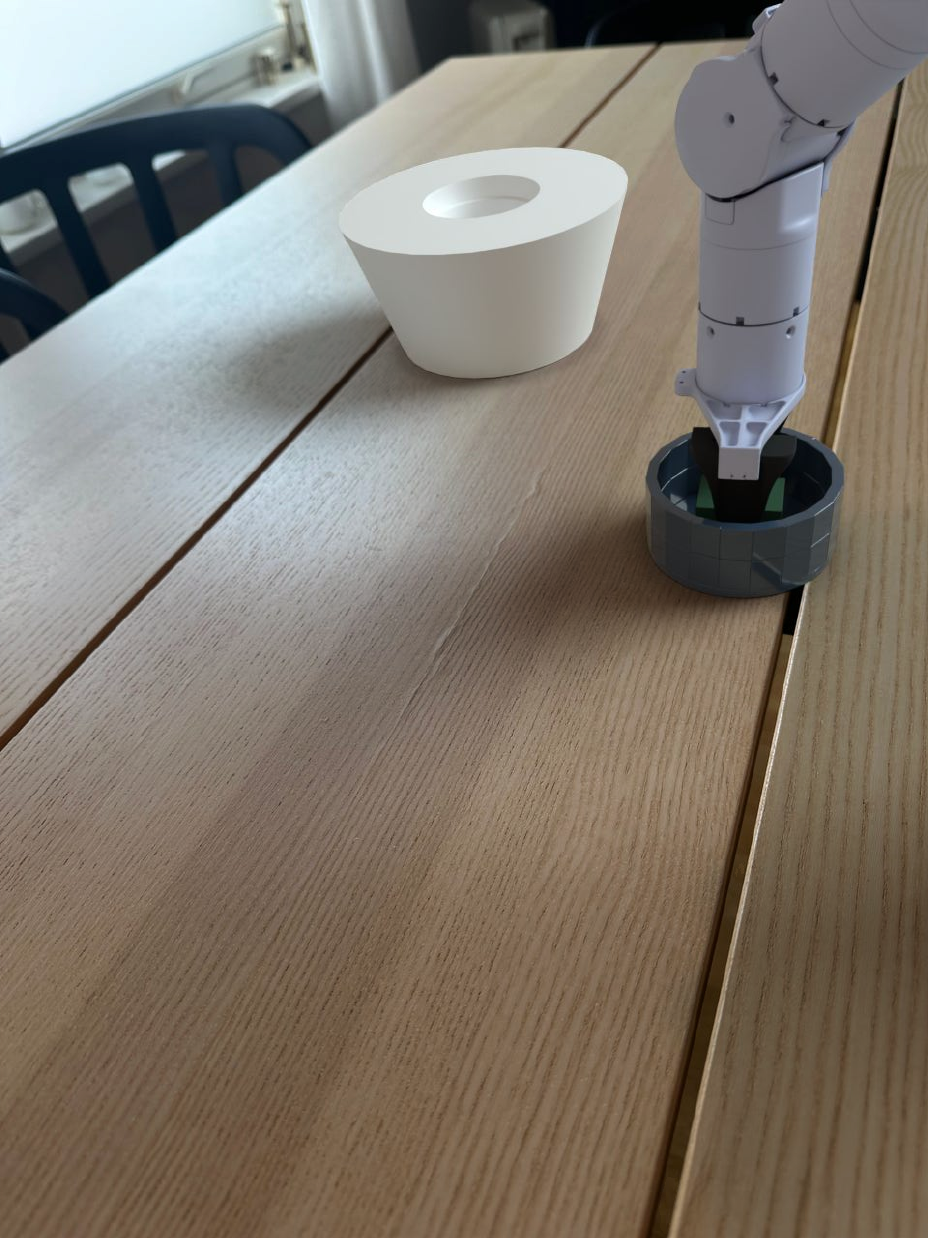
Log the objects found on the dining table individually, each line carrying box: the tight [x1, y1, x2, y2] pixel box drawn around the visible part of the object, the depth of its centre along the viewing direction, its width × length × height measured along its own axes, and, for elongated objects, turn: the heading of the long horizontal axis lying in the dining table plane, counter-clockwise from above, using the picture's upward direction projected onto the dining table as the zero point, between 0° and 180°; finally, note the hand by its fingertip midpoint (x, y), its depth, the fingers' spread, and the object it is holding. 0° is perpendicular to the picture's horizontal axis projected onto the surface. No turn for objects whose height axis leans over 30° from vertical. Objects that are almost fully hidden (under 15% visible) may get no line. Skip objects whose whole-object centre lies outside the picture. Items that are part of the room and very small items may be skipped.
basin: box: [644, 426, 845, 599], centre depth 60 cm, size 11×11×5 cm
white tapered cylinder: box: [337, 146, 629, 379], centre depth 85 cm, size 24×24×12 cm
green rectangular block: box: [695, 475, 785, 522], centre depth 61 cm, size 5×4×3 cm
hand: (740, 512), depth 61 cm, fingers closed on green rectangular block, 3 cm apart
